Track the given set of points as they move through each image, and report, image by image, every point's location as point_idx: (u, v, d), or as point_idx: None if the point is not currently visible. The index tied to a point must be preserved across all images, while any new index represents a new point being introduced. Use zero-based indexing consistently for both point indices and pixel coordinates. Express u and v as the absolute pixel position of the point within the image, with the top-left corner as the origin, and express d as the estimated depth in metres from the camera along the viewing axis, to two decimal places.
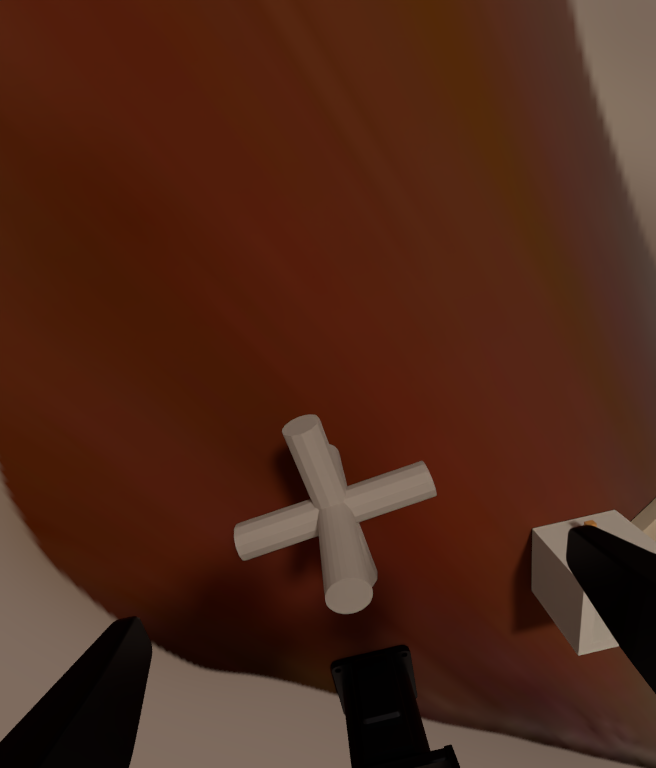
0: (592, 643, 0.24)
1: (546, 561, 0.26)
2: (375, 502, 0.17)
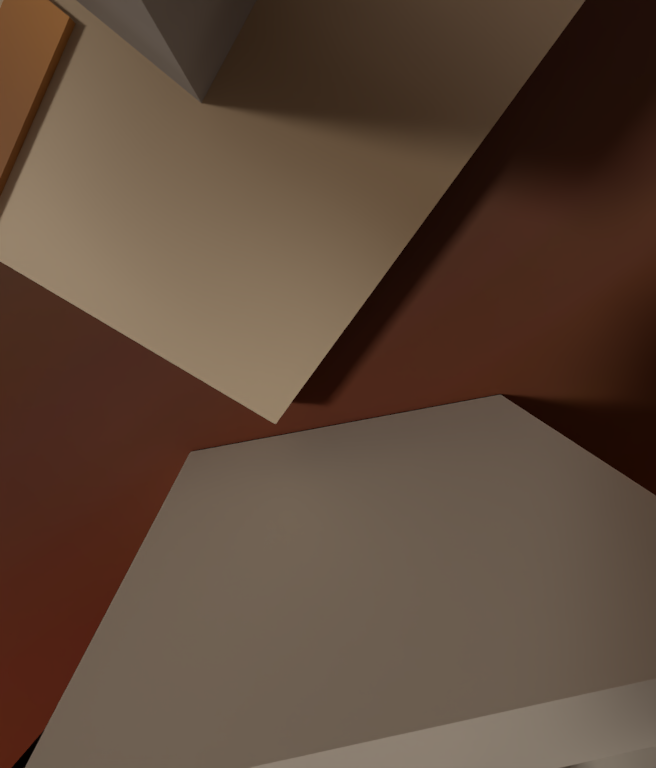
0: None
1: None
2: None
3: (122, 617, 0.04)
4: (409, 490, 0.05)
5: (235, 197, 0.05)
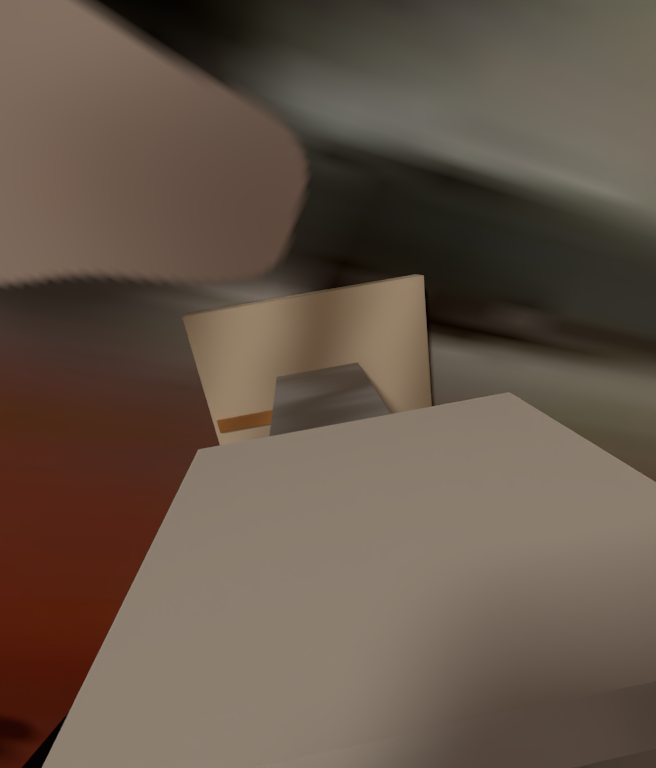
0: None
1: None
2: None
3: (137, 614, 0.04)
4: (420, 488, 0.05)
5: None
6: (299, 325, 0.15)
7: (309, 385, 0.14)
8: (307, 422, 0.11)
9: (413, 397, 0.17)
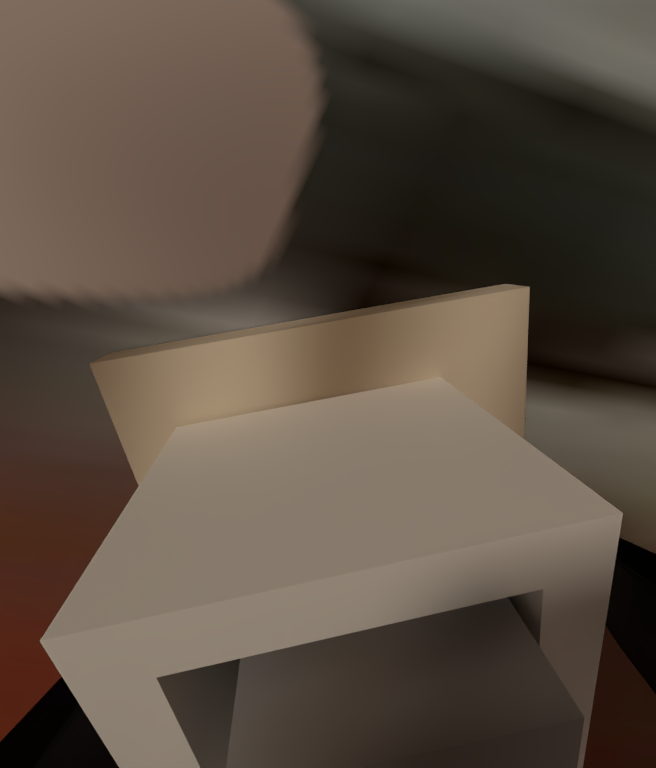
0: None
1: None
2: None
3: (121, 535, 0.05)
4: (349, 447, 0.06)
5: None
6: (305, 376, 0.08)
7: None
8: (330, 674, 0.04)
9: None
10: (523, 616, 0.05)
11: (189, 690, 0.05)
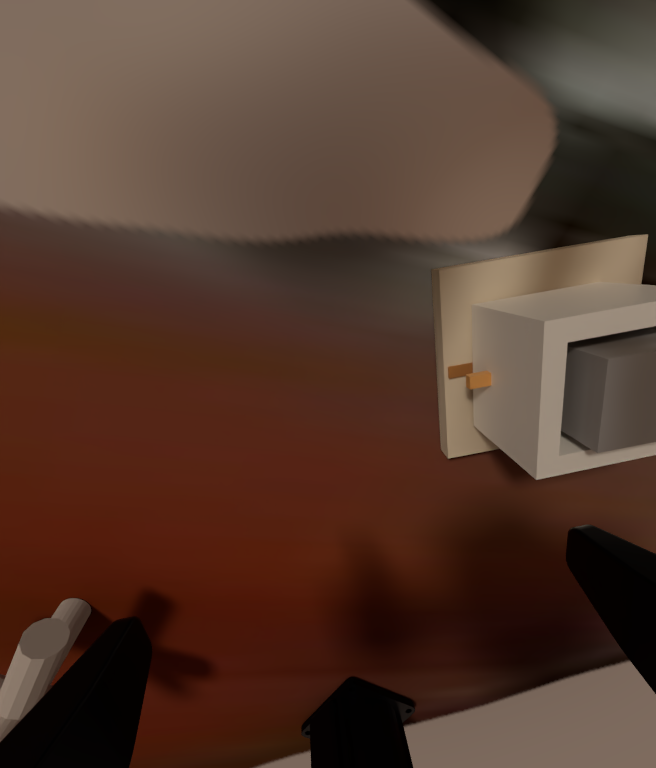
0: None
1: None
2: (7, 698, 0.16)
3: (523, 314, 0.13)
4: (586, 295, 0.15)
5: None
6: (535, 279, 0.17)
7: None
8: (618, 347, 0.13)
9: None
10: None
11: None
